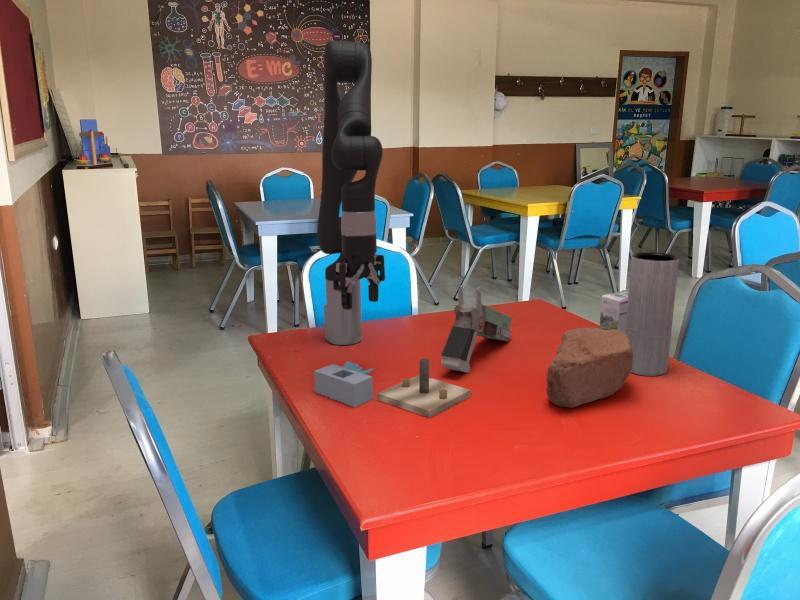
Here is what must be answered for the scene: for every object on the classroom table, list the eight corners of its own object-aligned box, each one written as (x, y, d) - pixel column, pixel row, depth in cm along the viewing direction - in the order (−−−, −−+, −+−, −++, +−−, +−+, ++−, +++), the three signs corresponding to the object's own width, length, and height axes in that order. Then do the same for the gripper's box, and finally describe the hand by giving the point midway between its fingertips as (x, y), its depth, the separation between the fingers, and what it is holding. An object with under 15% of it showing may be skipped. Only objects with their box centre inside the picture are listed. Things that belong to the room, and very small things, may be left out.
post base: (377, 399, 138) (376, 361, 135) (419, 380, 148) (419, 345, 146) (429, 418, 129) (430, 377, 127) (470, 396, 139) (471, 358, 137)
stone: (511, 397, 135) (535, 335, 128) (559, 359, 155) (582, 304, 149) (583, 439, 128) (612, 376, 121) (623, 393, 148) (650, 337, 141)
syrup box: (630, 351, 167) (635, 296, 163) (615, 356, 163) (619, 299, 160) (611, 345, 171) (616, 291, 167) (596, 349, 168) (600, 295, 164)
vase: (618, 361, 160) (627, 251, 153) (660, 362, 159) (671, 252, 152) (627, 375, 150) (637, 260, 143) (672, 377, 149) (685, 260, 142)
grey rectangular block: (315, 392, 142) (314, 370, 140) (333, 385, 146) (332, 364, 144) (354, 407, 134) (354, 384, 133) (373, 399, 138) (372, 376, 137)
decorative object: (377, 370, 155) (346, 362, 161) (377, 368, 155) (346, 360, 161) (341, 386, 146) (310, 376, 152) (341, 383, 146) (310, 373, 152)
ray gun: (433, 366, 149) (448, 280, 151) (479, 374, 177) (491, 302, 179) (462, 371, 146) (477, 284, 148) (504, 379, 174) (516, 305, 176)
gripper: (367, 227, 148) (369, 296, 152) (322, 234, 137) (325, 309, 141) (393, 229, 143) (394, 301, 147) (349, 237, 133) (351, 314, 136)
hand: (360, 305), depth 144 cm, fingers open, 8 cm apart
